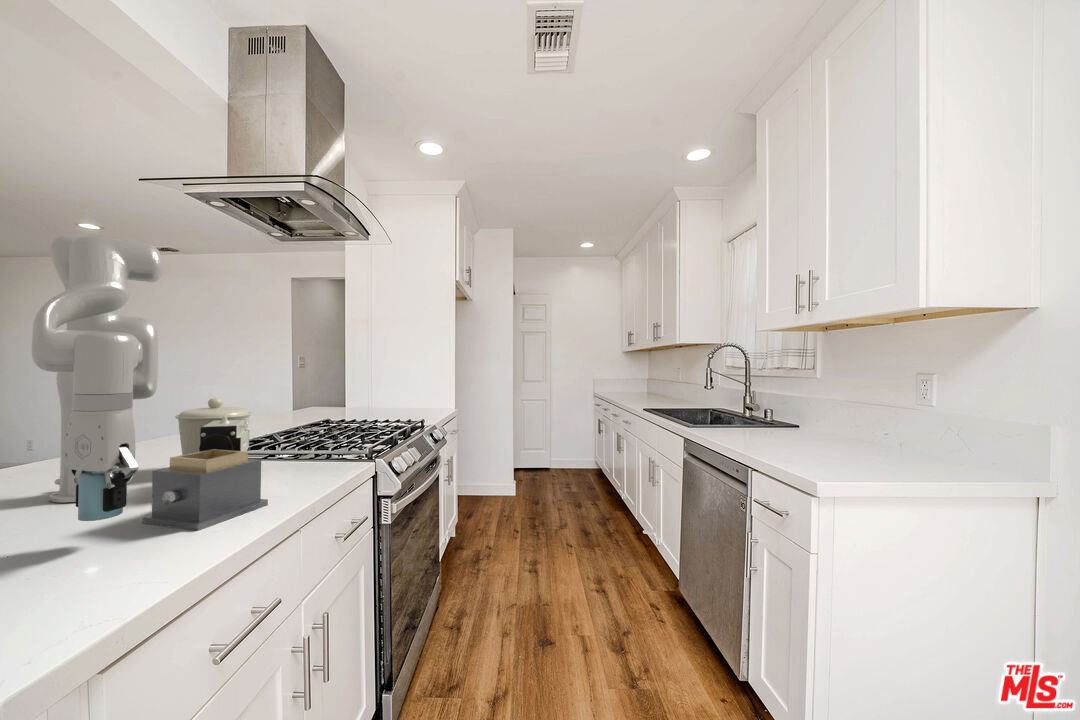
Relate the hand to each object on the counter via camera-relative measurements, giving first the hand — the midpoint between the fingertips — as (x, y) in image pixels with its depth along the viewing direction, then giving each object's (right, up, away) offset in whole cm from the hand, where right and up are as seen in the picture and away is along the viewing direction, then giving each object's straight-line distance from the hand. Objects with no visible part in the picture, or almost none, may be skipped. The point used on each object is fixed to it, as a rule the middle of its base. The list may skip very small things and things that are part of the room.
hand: (101, 506), depth 78 cm
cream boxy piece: (-5, -7, +38) cm, 39 cm away
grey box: (+7, -7, +16) cm, 19 cm away
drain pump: (0, -2, 0) cm, 2 cm away
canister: (-18, -7, +53) cm, 56 cm away
